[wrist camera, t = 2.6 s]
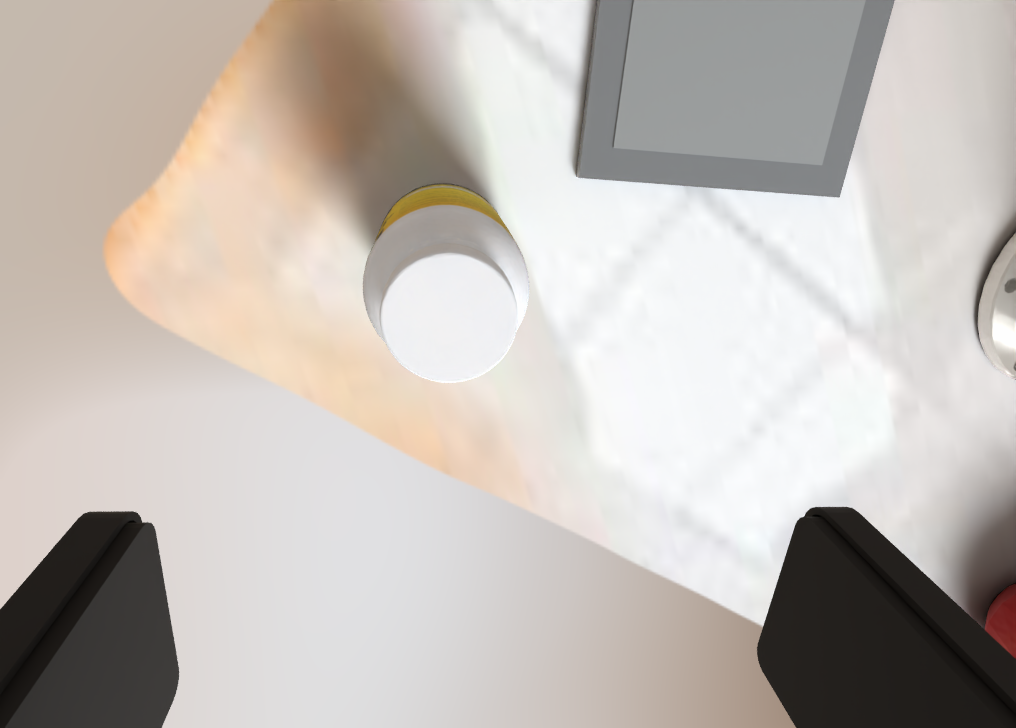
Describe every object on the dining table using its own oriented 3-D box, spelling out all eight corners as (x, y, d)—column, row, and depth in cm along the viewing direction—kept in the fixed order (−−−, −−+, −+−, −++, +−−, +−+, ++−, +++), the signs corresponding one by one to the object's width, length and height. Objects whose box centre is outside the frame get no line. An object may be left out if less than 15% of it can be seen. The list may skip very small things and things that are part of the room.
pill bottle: (394, 165, 29) (371, 196, 18) (521, 201, 30) (569, 250, 20) (367, 292, 31) (333, 385, 21) (487, 320, 33) (514, 422, 22)
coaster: (921, -128, 27) (933, -133, 26) (832, 195, 32) (840, 197, 31) (618, -176, 25) (622, -184, 24) (576, 176, 30) (579, 178, 30)
